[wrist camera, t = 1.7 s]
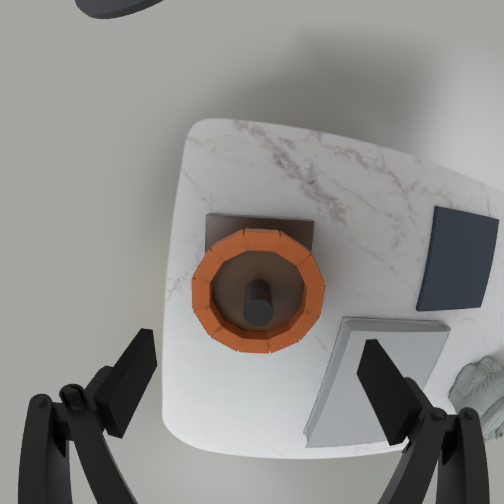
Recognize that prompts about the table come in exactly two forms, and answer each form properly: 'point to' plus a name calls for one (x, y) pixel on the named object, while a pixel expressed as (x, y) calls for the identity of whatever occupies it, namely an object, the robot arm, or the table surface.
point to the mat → (457, 260)
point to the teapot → (482, 395)
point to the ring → (255, 339)
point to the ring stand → (257, 273)
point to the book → (349, 387)
